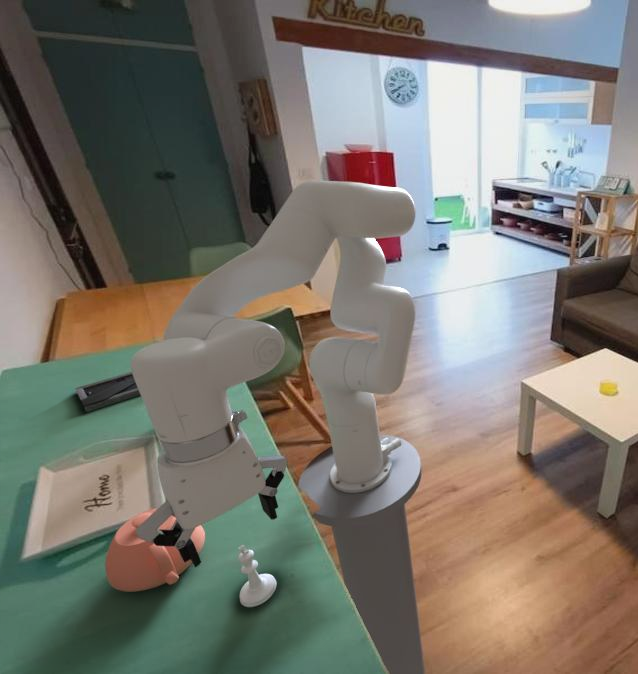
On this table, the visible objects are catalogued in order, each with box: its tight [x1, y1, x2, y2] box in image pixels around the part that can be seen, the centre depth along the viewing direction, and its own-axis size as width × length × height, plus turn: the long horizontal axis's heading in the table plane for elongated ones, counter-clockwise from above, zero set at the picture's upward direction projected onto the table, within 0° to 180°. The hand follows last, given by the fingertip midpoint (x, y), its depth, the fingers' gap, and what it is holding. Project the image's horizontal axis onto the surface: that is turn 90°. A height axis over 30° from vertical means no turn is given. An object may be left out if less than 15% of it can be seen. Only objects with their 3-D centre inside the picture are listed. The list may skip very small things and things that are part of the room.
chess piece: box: [237, 544, 278, 608], centre depth 62 cm, size 5×5×10 cm
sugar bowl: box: [104, 507, 206, 593], centre depth 65 cm, size 12×14×10 cm
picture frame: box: [74, 371, 141, 413], centre depth 114 cm, size 13×2×18 cm
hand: (234, 535), depth 58 cm, fingers open, 9 cm apart
